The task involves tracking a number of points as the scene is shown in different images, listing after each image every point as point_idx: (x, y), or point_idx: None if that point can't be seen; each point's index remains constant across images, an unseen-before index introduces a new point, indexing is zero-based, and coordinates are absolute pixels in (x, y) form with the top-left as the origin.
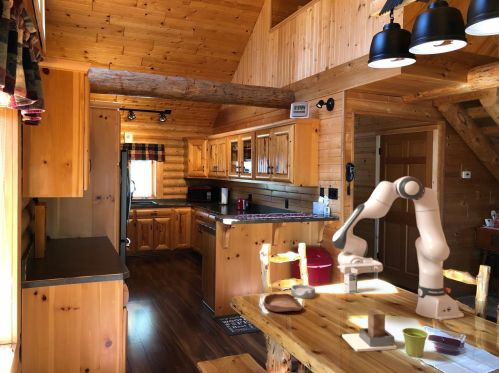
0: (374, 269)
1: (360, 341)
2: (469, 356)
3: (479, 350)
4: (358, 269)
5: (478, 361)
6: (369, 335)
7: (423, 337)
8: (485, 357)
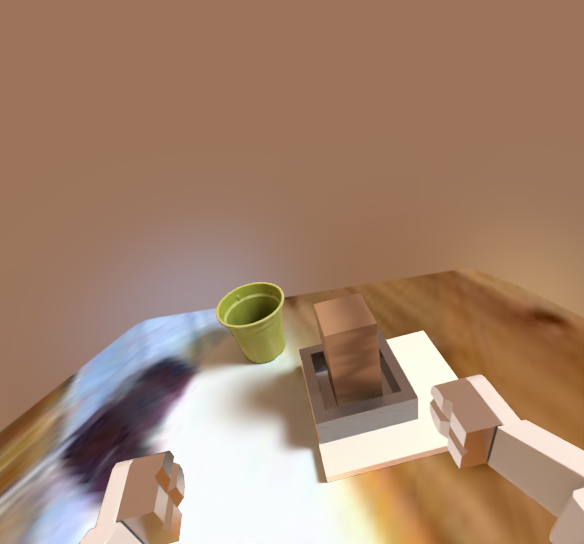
0: (163, 523)
1: (411, 379)
2: (140, 357)
3: (82, 391)
4: (460, 411)
5: (143, 339)
6: (380, 345)
7: (243, 286)
8: (109, 358)
